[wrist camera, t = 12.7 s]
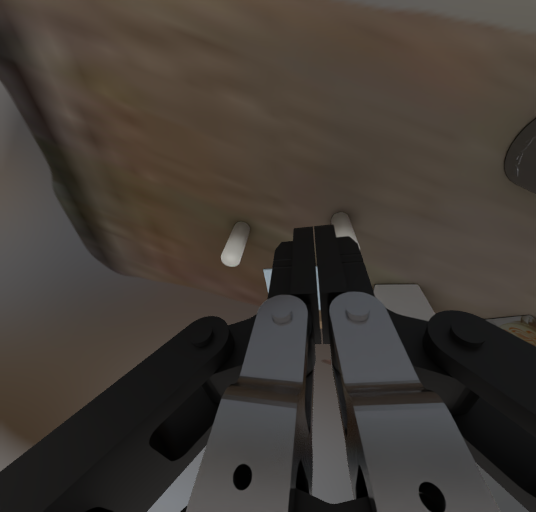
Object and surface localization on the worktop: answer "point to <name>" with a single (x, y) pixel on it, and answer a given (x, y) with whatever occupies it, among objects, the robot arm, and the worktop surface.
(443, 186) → the worktop surface
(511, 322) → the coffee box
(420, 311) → the milk carton
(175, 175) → the worktop surface
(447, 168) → the worktop surface
